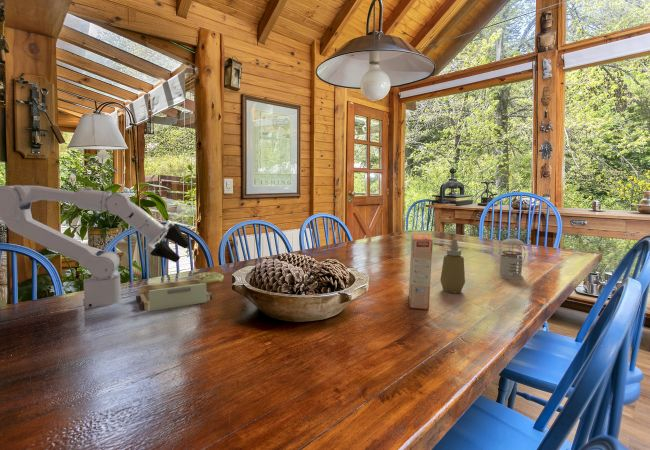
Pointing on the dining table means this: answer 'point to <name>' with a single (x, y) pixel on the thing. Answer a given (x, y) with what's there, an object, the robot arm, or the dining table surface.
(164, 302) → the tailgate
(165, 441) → the dining table surface
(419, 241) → the cracker box
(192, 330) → the dining table surface
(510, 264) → the french press
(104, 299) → the robot arm
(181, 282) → the cart
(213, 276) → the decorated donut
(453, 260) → the squeeze bottle
